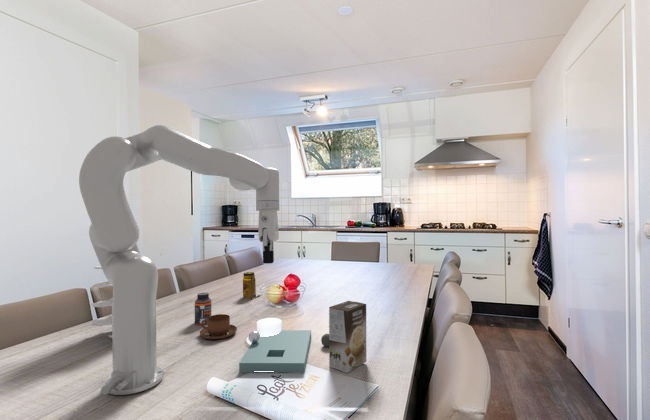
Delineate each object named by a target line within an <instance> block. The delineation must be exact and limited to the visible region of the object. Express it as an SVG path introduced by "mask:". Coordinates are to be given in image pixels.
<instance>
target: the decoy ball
mask: <svg viewBox="0 0 650 420" xmlns="http://www.w3.org/2000/svg"><path fill="white" fill-rule="evenodd" d="M320 341H321V345H322V346H324V347H326V348H329V333H325V334H323V335H322V336H321V340H320Z"/></svg>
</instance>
